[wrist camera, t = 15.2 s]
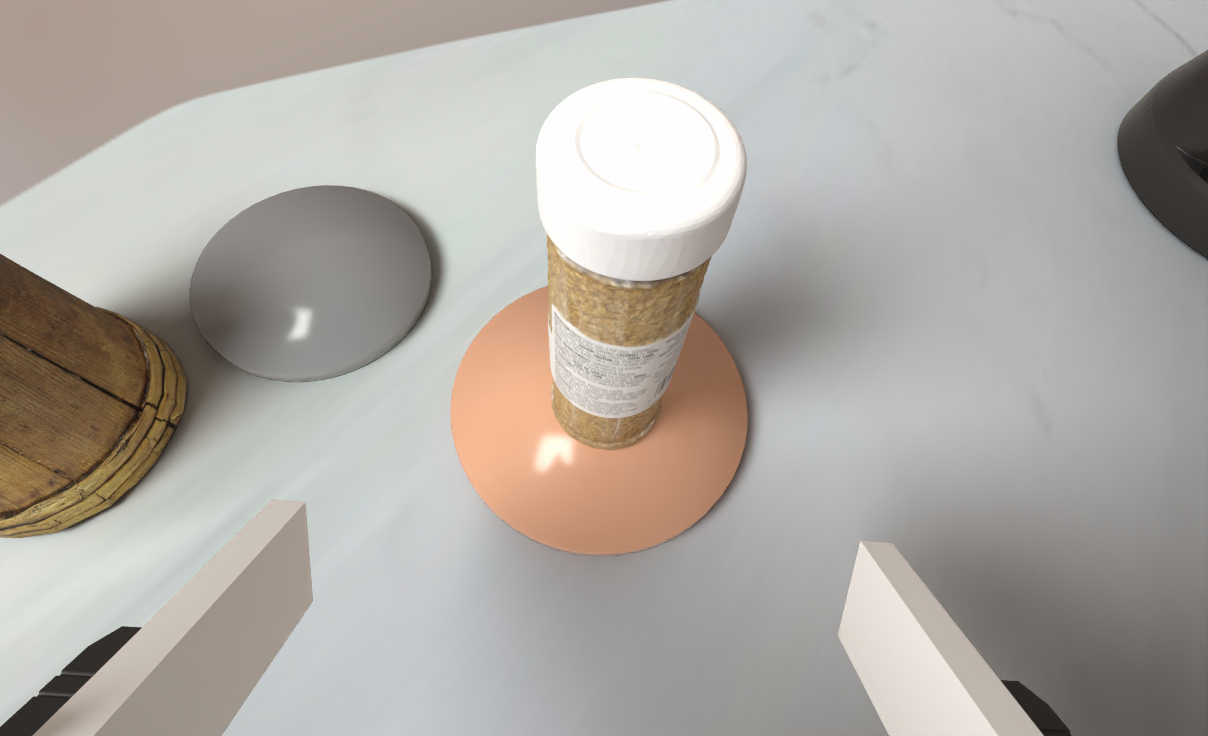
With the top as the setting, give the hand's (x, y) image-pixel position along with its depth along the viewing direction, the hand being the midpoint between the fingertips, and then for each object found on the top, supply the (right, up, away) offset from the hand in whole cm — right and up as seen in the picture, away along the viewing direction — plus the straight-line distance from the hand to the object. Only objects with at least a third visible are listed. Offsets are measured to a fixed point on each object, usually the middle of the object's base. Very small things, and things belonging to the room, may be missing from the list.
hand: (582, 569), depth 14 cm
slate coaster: (-12, +9, +13) cm, 20 cm away
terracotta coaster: (0, +3, +11) cm, 11 cm away
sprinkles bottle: (+1, +3, +10) cm, 11 cm away
